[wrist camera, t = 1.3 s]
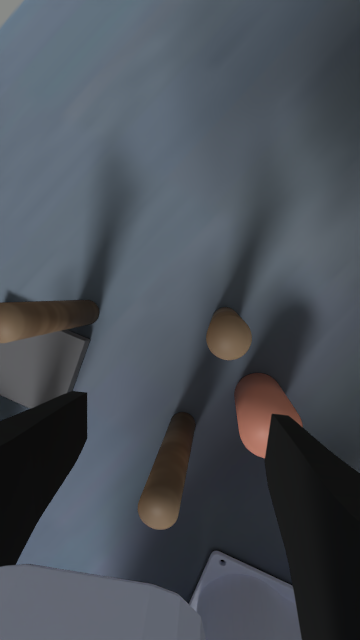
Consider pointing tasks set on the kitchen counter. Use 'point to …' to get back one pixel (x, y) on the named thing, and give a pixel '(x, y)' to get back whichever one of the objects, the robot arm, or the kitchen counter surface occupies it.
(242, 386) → the pink tapered rounded piece
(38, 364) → the pad
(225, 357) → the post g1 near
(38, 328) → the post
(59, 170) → the kitchen counter surface
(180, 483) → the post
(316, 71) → the kitchen counter surface
